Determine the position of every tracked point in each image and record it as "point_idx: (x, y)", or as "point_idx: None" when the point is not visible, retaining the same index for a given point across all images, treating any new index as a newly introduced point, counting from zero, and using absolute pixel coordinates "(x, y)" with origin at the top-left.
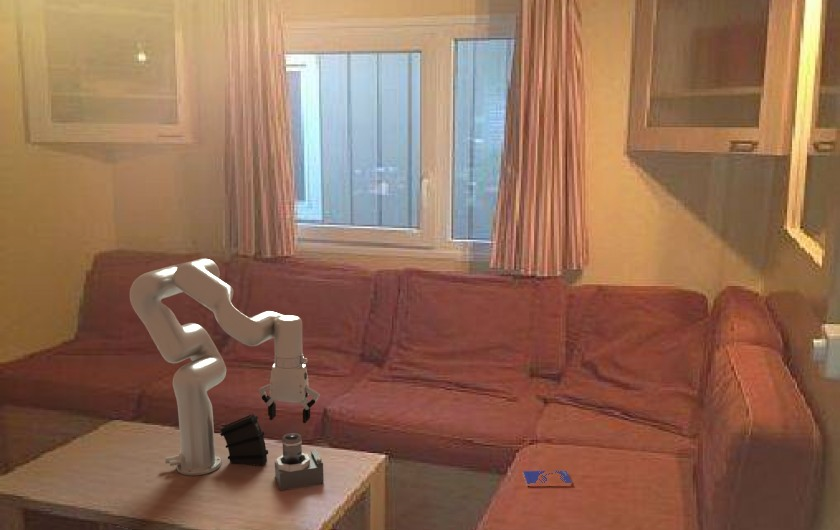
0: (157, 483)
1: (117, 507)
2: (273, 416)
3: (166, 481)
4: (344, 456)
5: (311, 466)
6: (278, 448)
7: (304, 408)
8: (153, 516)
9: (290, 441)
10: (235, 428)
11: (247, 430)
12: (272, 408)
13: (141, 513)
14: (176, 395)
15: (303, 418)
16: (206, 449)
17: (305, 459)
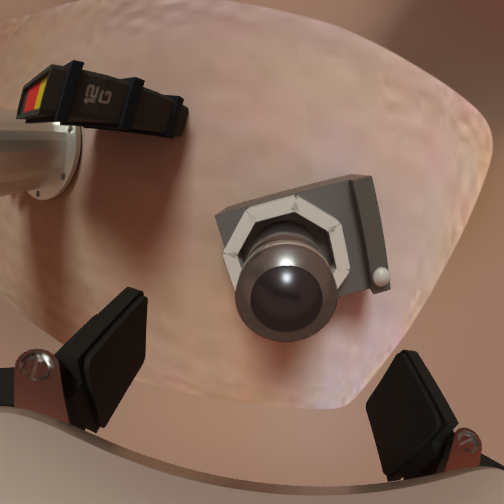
0: (17, 227)
1: (14, 301)
2: (139, 347)
3: (24, 220)
4: (421, 101)
5: (350, 279)
6: (213, 26)
7: (403, 473)
8: (60, 340)
9: (281, 338)
10: (38, 122)
11: (73, 119)
12: (108, 410)
13: (43, 327)
14: None
15: (375, 430)
16: (25, 178)
17: (333, 254)
